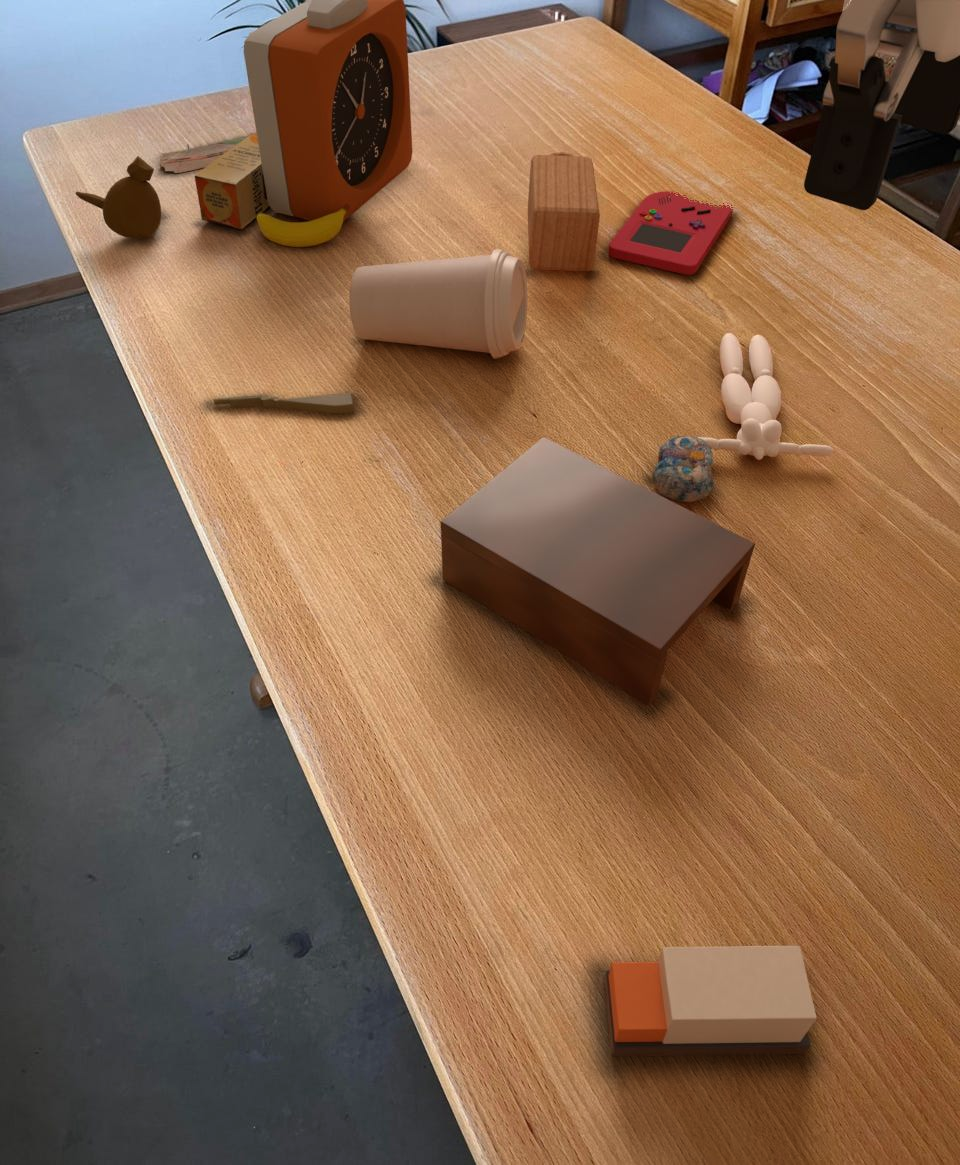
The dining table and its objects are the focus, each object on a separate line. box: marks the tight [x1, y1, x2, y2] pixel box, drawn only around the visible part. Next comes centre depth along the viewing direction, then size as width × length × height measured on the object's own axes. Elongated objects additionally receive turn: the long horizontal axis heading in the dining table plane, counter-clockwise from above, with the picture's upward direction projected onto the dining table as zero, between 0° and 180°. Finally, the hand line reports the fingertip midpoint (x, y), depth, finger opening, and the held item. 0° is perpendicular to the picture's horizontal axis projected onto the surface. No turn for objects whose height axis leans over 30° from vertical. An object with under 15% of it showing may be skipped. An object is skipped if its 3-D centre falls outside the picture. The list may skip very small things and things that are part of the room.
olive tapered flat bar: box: [213, 392, 355, 415], centre depth 88 cm, size 12×2×1 cm, turn 90°
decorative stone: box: [651, 434, 715, 503], centre depth 80 cm, size 6×4×5 cm
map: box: [159, 136, 247, 174], centre depth 122 cm, size 5×20×1 cm, turn 121°
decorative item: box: [527, 151, 601, 272], centre depth 107 cm, size 7×7×20 cm
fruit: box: [255, 204, 350, 248], centre depth 106 cm, size 10×2×5 cm
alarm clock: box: [243, 0, 413, 223], centre depth 107 cm, size 18×9×21 cm, turn 154°
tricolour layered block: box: [603, 945, 818, 1057], centre depth 51 cm, size 10×4×5 cm, turn 91°
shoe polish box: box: [194, 133, 270, 230], centre depth 111 cm, size 5×5×12 cm
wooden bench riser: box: [439, 436, 756, 707], centre depth 71 cm, size 18×12×6 cm, turn 51°
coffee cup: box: [348, 248, 528, 360], centre depth 92 cm, size 10×10×15 cm
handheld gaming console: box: [608, 190, 734, 276], centre depth 108 cm, size 10×1×15 cm
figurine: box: [75, 155, 162, 240], centre depth 106 cm, size 8×8×6 cm
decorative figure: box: [697, 332, 835, 461], centre depth 87 cm, size 4×12×18 cm
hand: (881, 160), depth 47 cm, fingers open, 9 cm apart
